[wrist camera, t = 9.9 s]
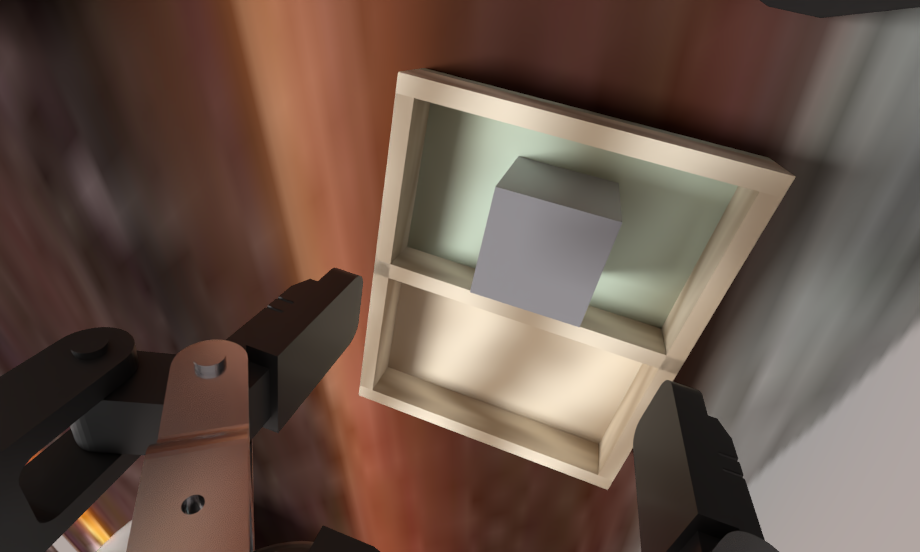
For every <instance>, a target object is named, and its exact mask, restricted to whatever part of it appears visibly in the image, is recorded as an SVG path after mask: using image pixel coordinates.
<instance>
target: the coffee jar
mask: <svg viewBox="0 0 920 552" xmlns="http://www.w3.org/2000/svg"><path fill="white" fill-rule="evenodd" d="M760 1H761V2H763V3H764V4H766V5H767V6H769V7H773V8H778V9H782V10H787V11H792V12H796V13H801V14H805V15H810V16H814V17H819V18H824V17H833V16H842V15H851V14H860V13H870V12H879V11H888V10H897V9H906V8H915V7H920V0H760Z"/></svg>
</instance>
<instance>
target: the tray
mask: <svg viewBox="0 0 920 552" xmlns="http://www.w3.org/2000/svg"><path fill="white" fill-rule="evenodd" d="M518 156H520V157H524V158H528V159H532V160H535V161H539V162H543V163H546V164H550V165H554V166H557V167H561V168H565V169H569V170H572V171H576V172H580V173H583V174H587V175H591V176H595V177H598V178H602V179H606V180H609V181H613V182H617V183H619V192H620V202H621V213H622V225H621V227H620V230H619V232H618V235H617V237H616V240H615V242H614V244H613V247H612V249H611V252H610V254H609V257H608V259H607V262H606V264H605V266H604V269H603V271H602V274H601V276H600V279H599V281H598V284H597V286H596V289H595V291H594V293H593V296H592V298H591V301H590V303H589V306H588V308H587V311H586V313H585V315H584V318H583V320H582V323H581V325H580V327H577V326H573V325H570V324H567V323H564V322H561V321H558V320H555V319H552V318H549V317H545V316H542V315H539V314H536V313H533V312H530V311H527V310H524V309H521V308H517V307H514V306H511V305H508V304H505V303H502V302H499V301H496V300H493V299H489V298H486V297H483V296H480V295H477V294H474V293H471V292H470V289H471V285H472V281H473V277H474V273H475V269H476V265H477V261H478V256H479V252H480V248H481V244H482V240H483V236H484V232H485V227H486V223H487V219H488V215H489V211H490V207H491V203H492V199H493V194H494V190H495V186H496V185H497V184H498V183H499V181H500V180H501V179H502V177H503V176H504V175H505V173H506V172H507V171H508V169H509V168H510V167H511V165H512V164H513V163H514V161H515V160H516V159H517V157H518ZM794 179H795V176H794V175H793V174H791V173H790V172H788V171H787V170H786V169H784V168H783V167H781V166H780V165H778V164H777V163H776V162H774V161H773V160H771V159H770V158H768V157H764V156H760V155H756V154H753V153H749V152H745V151H741V150H737V149H733V148H730V147H726V146H722V145H718V144H714V143H710V142H706V141H703V140H699V139H695V138H691V137H687V136H683V135H680V134H676V133H672V132H668V131H664V130H660V129H657V128H653V127H649V126H645V125H641V124H637V123H633V122H630V121H626V120H622V119H618V118H614V117H610V116H607V115H603V114H599V113H595V112H591V111H587V110H583V109H580V108H576V107H572V106H568V105H564V104H560V103H557V102H553V101H549V100H545V99H541V98H537V97H534V96H530V95H526V94H522V93H518V92H514V91H510V90H507V89H503V88H499V87H495V86H491V85H487V84H484V83H480V82H476V81H472V80H468V79H464V78H460V77H457V76H453V75H449V74H445V73H441V72H437V71H434V70H430V69H426V68H421V69H414V70H408V71H401V72H398V78H397V86H396V94H395V103H394V111H393V119H392V127H391V135H390V143H389V152H388V160H387V168H386V176H385V184H384V193H383V201H382V209H381V217H380V225H379V233H378V242H377V250H376V258H375V266H374V274H373V283H372V291H371V299H370V307H369V315H368V323H367V332H366V340H365V348H364V356H363V364H362V373H361V381H360V389H359V395H360V396H362V397H365V398H368V399H370V400H373V401H376V402H378V403H381V404H383V405H386V406H389V407H391V408H394V409H397V410H399V411H402V412H404V413H407V414H410V415H412V416H415V417H418V418H420V419H423V420H426V421H428V422H431V423H433V424H436V425H439V426H441V427H444V428H447V429H449V430H452V431H454V432H457V433H460V434H462V435H465V436H468V437H470V438H473V439H475V440H478V441H481V442H483V443H486V444H489V445H491V446H494V447H497V448H499V449H502V450H504V451H507V452H510V453H512V454H515V455H518V456H520V457H523V458H525V459H528V460H531V461H533V462H536V463H539V464H541V465H544V466H547V467H549V468H552V469H554V470H557V471H560V472H562V473H565V474H568V475H570V476H573V477H575V478H578V479H581V480H583V481H586V482H589V483H591V484H594V485H597V486H599V487H602V488H604V489H607V490H608V488H609V487H610V485H611V483H612V482H613V480H614V478H615V477H616V475H617V473H618V472H619V470H620V468H621V467H622V465H623V463H624V462H625V460H626V458H627V457H628V455H629V453H630V452H631V450H632V448H633V439H634V434H635V430H636V427H637V424H638V422H639V420H640V419H641V417H642V415H643V414H644V412H645V410H646V409H647V407H648V405H649V404H650V402H651V400H652V399H653V397H654V395H655V394H656V392H657V390H658V389H659V387H660V386H661V384H662V383H663V382H664V381H666V380H670V381H673V380H674V378H675V377H676V375H677V373H678V372H679V370H680V368H681V367H682V365H683V363H684V362H685V360H686V358H687V357H688V355H689V353H690V352H691V350H692V348H693V347H694V345H695V343H696V342H697V340H698V338H699V337H700V335H701V333H702V332H703V330H704V328H705V327H706V325H707V323H708V322H709V320H710V318H711V317H712V315H713V313H714V312H715V310H716V308H717V307H718V305H719V303H720V302H721V300H722V298H723V297H724V295H725V293H726V292H727V290H728V288H729V287H730V285H731V283H732V282H733V280H734V278H735V277H736V275H737V274H738V272H739V270H740V269H741V267H742V265H743V264H744V262H745V260H746V259H747V257H748V255H749V254H750V252H751V250H752V249H753V247H754V245H755V244H756V242H757V240H758V239H759V237H760V235H761V234H762V232H763V230H764V229H765V227H766V225H767V224H768V222H769V220H770V219H771V217H772V215H773V214H774V212H775V210H776V209H777V207H778V205H779V204H780V202H781V200H782V199H783V197H784V195H785V194H786V192H787V190H788V189H789V187H790V185H791V184H792V182H793V180H794Z"/></svg>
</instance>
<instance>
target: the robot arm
mask: <svg viewBox="0 0 920 552" xmlns="http://www.w3.org/2000/svg"><path fill="white" fill-rule="evenodd" d="M362 287H363V279H362V277H361V276H359V275H356V274H353V273H350V272H347V271H344V270H341V269H338V268H333V269H331V270H330V271H329V272H328V273H327V274H326V275H324V276H323V277H322V278H321V279H320V280H319V281H315V280H312V279H309V280H306V281H303V282H301V283H298V284H295V285H293V286H291V287H290V288H289V289H287V290H286V291H285V292H284V293H282V294H281V295H280V296H279V298H278V299H275V300H274V301H273V302H271V303H270V304H269V305H268V307H267V308H264V309H263V310H262V311H260V312H259V313H258V314H257V315H256V316H254V317H253V318H252V319H251V320H250V321H248V322H247V323H246V324H245V325H243V326H242V327H241V328H240V329H239V330H237V331H236V332H235V333H234V334H232V335H231V336H230V337H229V338H228V339H226V340H208V341H202V342H199V343H196V344H193V345H191V346H188V347H187V348H185V349H183V350H182V351H181V352H179V353H178V354H165V353H155V352H144V351H136V346H135V341H134V339H133V337H132V336H131V335H130V334H129V333H128V332H126V331H124V330H121V329H117V328H110V327H100V328H91V329H86V330H82V331H79V332H75V333H73V334H70V335H68V336H66V337H64V338H62V339H60V340H59V341H57V342H55V343H54V344H52V345H51V346H49V347H47V348H46V349H44V350H42V351H41V352H39V353H38V354H36V355H34V356H33V357H31V358H30V359H28V360H26V361H25V362H23V363H21V364H20V365H18V366H17V367H15V368H13V369H12V370H10V371H9V372H7V373H5V374H4V375H2V376H0V552H45V551H46V550H47V549H48V548H49V547H50V546H51V545H52V544H53V543H54V542H55V541H56V540H57V539H58V538H59V537H60V536H61V535H62V534H63V533H64V532H65V531H66V530H67V529H68V528H69V527H70V526H71V525H72V524H73V523H74V522H75V521H76V520H77V519H78V518H79V517H80V516H81V515H82V514H83V513H84V512H85V511H86V510H87V509H88V508H89V507H90V506H91V505H92V504H93V503H94V502H95V501H96V500H97V499H98V498H99V497H100V496H101V495H102V494H103V493H104V492H105V491H106V490H107V489H108V488H109V487H110V486H111V485H112V484H113V483H114V482H115V481H116V480H117V479H118V478H119V477H120V476H121V475H122V474H123V473H124V472H125V471H126V470H127V469H128V468H129V467H130V466H131V465H132V464H133V463H134V462H135V461H136V460H137V459H138V458H139V457H140V456H141V455H145V458H144V462H143V468H142V473H141V478H140V483H139V488H138V493H137V498H136V504H135V509H134V514H133V519H132V524H131V529H130V535H129V540H128V545H127V550H126V552H380V551H379V550H377V549H376V548H375V547H373V546H371V545H369V544H366V543H364V542H361V541H359V540H357V539H354V538H352V537H349V536H347V535H345V534H342V533H340V532H337V531H335V530H333V529H330V528H328V527H325V526H322V528H321V530H320V532H319V533H318V535H317V537H316V539H315V541H314V542H310V541H292V542H285V543H278V544H274V545H270V546H267V547H263V548H260V549H258V550H255V540H254V506H253V449H252V438H253V437H254V436H255V435H256V434H257V433H258V431H259V430H260V429H261V428H262V427H264V428H267V429H269V430H272V431H274V432H277V433H279V431H280V430H281V429H282V428H283V426H284V425H285V424H286V423H287V421H288V420H289V419H290V418H291V416H292V415H293V414H294V413H295V411H296V410H297V409H298V408H299V406H300V405H301V404H302V403H303V401H304V400H305V399H306V398H307V397H308V395H309V394H310V393H311V392H312V390H313V389H314V388H315V387H316V385H317V384H318V383H319V382H320V380H321V379H322V378H323V377H324V375H325V374H326V373H327V372H328V370H329V369H330V368H331V367H332V365H333V364H334V363H335V362H336V360H337V359H338V358H339V357H340V355H341V354H342V353H343V352H344V351H345V349H346V348H347V347H348V346H349V344H350V343H351V341H352V339H353V338H354V335H355V333H356V330H357V327H358V322H359V314H360V305H361V296H362ZM69 426H70V427H71V429H70V430H69V431H67V432H66V433H65V434H64V435H62V436H61V437H60V438H59V439H57V440H56V441H55V442H54V443H53V444H51V445H50V446H49V447H48V448H46V449H45V450H44V451H43V452H41V453H40V454H39V455H38V456H37V457H35V458H34V459H33V460H32V461H30V462H29V463H28V464H27V465H25V464H26V463H27V462H28V461H29V460H30V458H31V457H32V456H34V455H35V454H36V453H37V452H38V451H40V450H41V449H42V448H43V447H45V446H46V445H47V444H48V443H49V442H51V441H52V440H53V439H54V438H56V437H57V436H58V435H59V434H61V433H62V432H63V431H64V430H66V429H67V428H68V427H69ZM633 452H634V465H635V477H636V489H637V502H638V514H639V527H640V539H641V552H779V551H778V550H777V549H775V548H774V547H773V546H772V545H770V544H769V543H768V542H766V541H765V540H764V537H763V534H762V531H761V528H760V525H759V522H758V519H757V515H756V512H755V509H754V506H753V503H752V500H751V497H750V494H749V491H748V487H747V484H746V481H745V479H743V472H742V469H741V466H740V463H739V462H737V460H738V457H737V454H736V450H735V447H734V444H733V441H732V438H731V437H730V436H729V434H728V433H727V432H726V430H725V429H724V427H723V426H722V425H721V423H720V422H719V421H718V419H717V418H714V417H711V416H708V414H707V411H706V407H705V403H704V400H703V396H702V394H701V392H700V391H699V390H696V389H693V388H690V387H687V386H684V385H681V384H678V383H675V382H673V381H670V380H666V381H664V382H663V383H662V384H661V386H660V387H659V389H658V390H657V392H656V394H655V395H654V397H653V399H652V400H651V402H650V404H649V405H648V407H647V409H646V410H645V412H644V414H643V415H642V417H641V419H640V420H639V422H638V424H637V427H636V430H635V434H634V439H633Z"/></svg>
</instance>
